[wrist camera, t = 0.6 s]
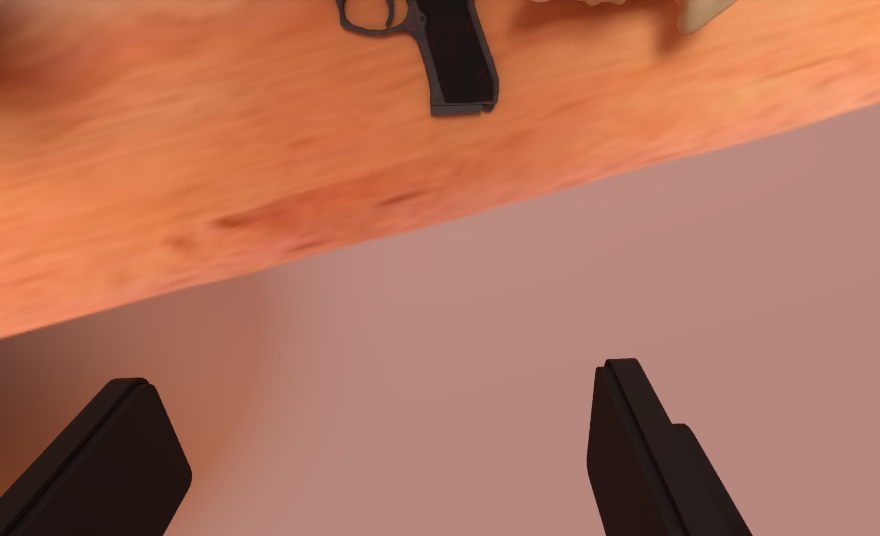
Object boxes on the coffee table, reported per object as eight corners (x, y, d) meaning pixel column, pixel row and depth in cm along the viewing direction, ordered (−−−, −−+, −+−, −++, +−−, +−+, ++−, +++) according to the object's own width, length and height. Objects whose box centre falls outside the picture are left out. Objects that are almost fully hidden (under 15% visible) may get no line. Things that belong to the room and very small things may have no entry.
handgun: (240, 120, 35) (196, -87, 29) (251, 115, 36) (210, -82, 31) (502, 114, 34) (508, -100, 28) (500, 109, 35) (506, -94, 30)
